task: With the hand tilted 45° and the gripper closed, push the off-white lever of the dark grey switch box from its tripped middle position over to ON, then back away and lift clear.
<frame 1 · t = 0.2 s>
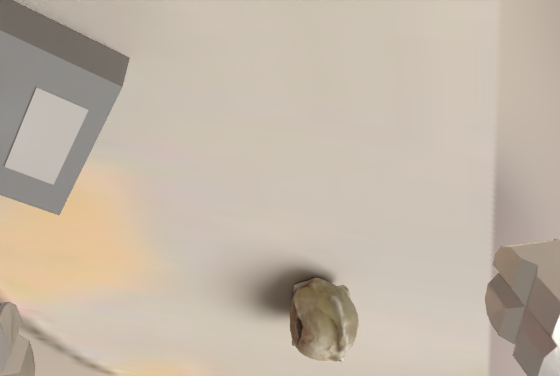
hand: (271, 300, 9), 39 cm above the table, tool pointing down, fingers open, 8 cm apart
beige hollow lumpy pot: (313, 295, 67), on the table
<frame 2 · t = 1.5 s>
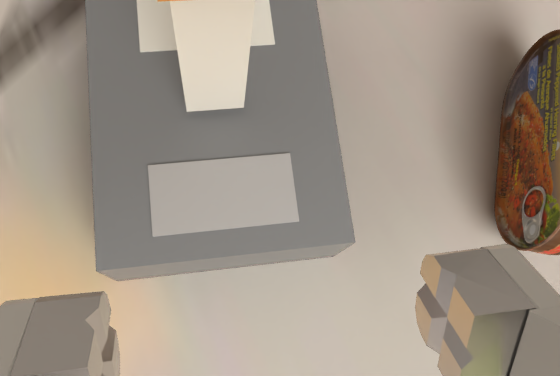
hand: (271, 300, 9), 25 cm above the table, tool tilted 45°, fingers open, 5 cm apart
switch box: (215, 138, 37), on the table
breaker lever: (212, 35, 24), point 13 cm above the table, hinge at 0.0°
tin: (516, 161, 39), on the table
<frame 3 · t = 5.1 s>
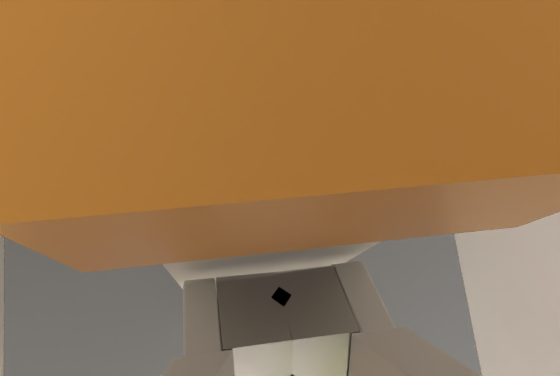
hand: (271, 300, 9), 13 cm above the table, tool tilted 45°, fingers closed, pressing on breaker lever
switch box: (237, 284, 22), on the table
breaker lever: (260, 221, 9), point 13 cm above the table, hinge at 0.9°, touching gripper
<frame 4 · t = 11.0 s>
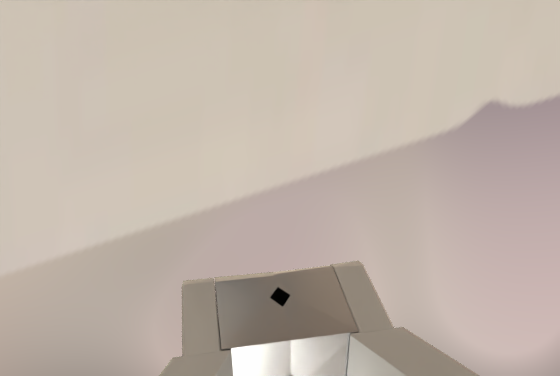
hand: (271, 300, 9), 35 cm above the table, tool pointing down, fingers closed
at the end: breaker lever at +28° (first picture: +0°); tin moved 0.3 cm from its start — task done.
